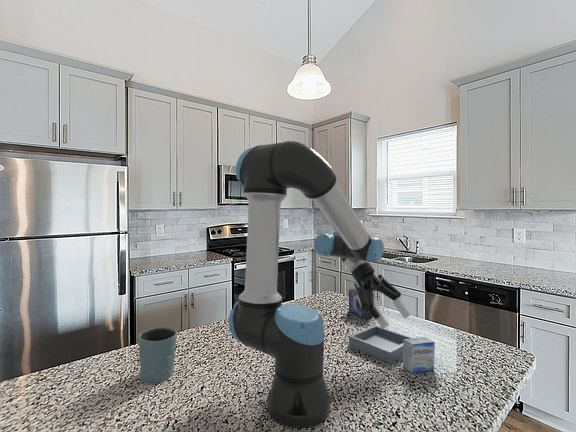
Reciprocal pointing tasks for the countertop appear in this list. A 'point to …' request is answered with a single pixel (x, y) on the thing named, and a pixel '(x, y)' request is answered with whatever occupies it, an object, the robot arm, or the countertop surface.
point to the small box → (357, 305)
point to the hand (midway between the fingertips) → (397, 321)
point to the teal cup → (157, 354)
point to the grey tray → (379, 343)
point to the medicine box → (418, 354)
